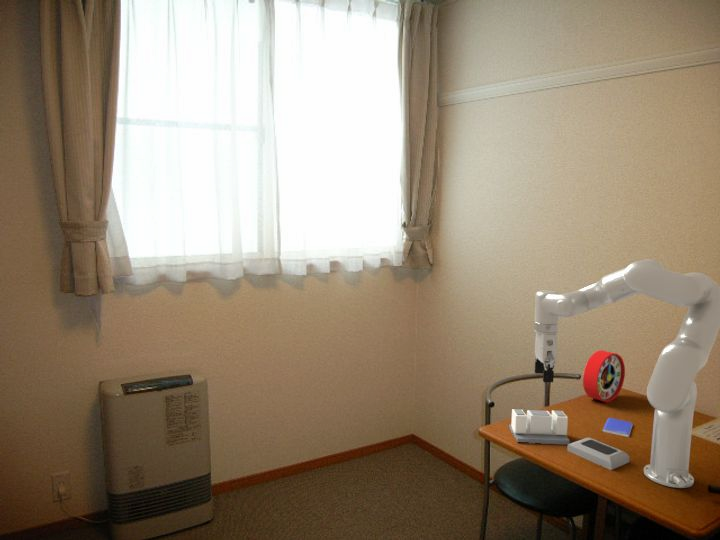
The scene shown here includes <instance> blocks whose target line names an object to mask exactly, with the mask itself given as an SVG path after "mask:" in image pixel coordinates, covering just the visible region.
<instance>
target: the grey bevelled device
mask: <svg viewBox="0 0 720 540" xmlns="http://www.w3.org/2000/svg"><path fill="white" fill-rule="evenodd" d="M566 448H567V450H566V451H567V452H569V453H572V454H573V455H576V456H578V457H581V458H583V459H584V460H588V461H589V462H592V463H594V464H596V465H598V466H600V465H601V466H600V467H603V468H605V469H608V470H610V471H613V470H615V469H617V468H620V467H621V466H622V467H623V466H624V465H626V464H629V463H630V455H629V454H628V453H627V452H625V451H624V450H621V449H619V448H616V447H613V446H611V445H609V444H606V443H604V442H603V441H602V442H601V441H599V440H598V439H597V440H596V439H594V438H591V437H584V438H583V439H580V440H579V439H578V440H576V441H574V442H570V444H568V445H567V447H566Z"/></svg>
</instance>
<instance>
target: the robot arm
mask: <svg viewBox="0 0 720 540" xmlns="http://www.w3.org/2000/svg"><path fill="white" fill-rule="evenodd" d="M638 294H643V295H645V296H649V297H651V298H653V299H656V300H659V301H662V302H666V303H668V304H671V305H673V306H677V307H688V309H687V311H686V315H685V316H684V318H683V321H682V323H681V326H680V328H679V331H678V333H677V335H676V338H675V339H674V340H673V341H672V342H670V343H668V344H667V345H665V347H664V348H663V349H662V350H661V352H660V353H659V356H658V358H657V361H656V364H655V366H654V369H653V372H652V373H651V376H650V378H649V381H648V384H647V387H646V397H647V400H648V403H649V404H650V405H651V406H652V407H653V408H654V413H653V414H654V415H653V422H652V423H653V425H652V437H651V448H650V449H651V451H650V462H649V463H650V464H645V466H644V467H643V474H644V476H646V477H647V478H648V479H649V480H651V481H652V482H655V483H657V484H659V485H662V486H666V487H670V488H675V489H676V488H677V489H686V488H690V487H692V486H693V485H694V484H695V483H694V482H695V479H694V476H693V475H692V474H691V473H689V467H690V466H689V465H690V455H691V454H690V452H691V443H692V442H691V441H692V431H693V423H694V422H693V421H694V413H695V408H696V407H695V406H696V402H697V396H698V388H697V383H696V381H695V378H696V377H697V374H698V373H699V371H701V370H702V369H703V368H704V367H705V365H706V364H707V362H708V359H709V356H710V354H711V351H712V349H713V347H714V343H715V342H716V339H717V336H718V333H719V331H720V286H719V284H718V283H717V281H715V280H714V279H713V278H711V277H710V276H709V275H706V274H704V273H702V272H696V271H695V272H694V271H693V272H692V271H691V272H687V273H678V272H676V271H672V270H669V269H666V268H665V266H664V265H663V264H662V263H661V262H660V261H658V260H656V259H652V258H647V259H640V260H635V261H634V262H631V263H630V264H628V265H627V266H626V267H623V268H622V269H619V270H616V271H613V272H610V273H608V274H606V275H603V276H602V277H601V278H600V280H598V281H597V282H595V283H593V284H590V285H588V286H585V287H583V288H580V289H578V290H577V289H576V290H575V291H570V292H566V293H559V292H557V291H554V290H545V289H543V290H538V291H537V292H535V296H534V298H535V299H534V300H535V301H534V323H533V325H534V326H533V331H534V333H535V341H534V356H535V357H534V361H535V362H534V373H535V374H542V381H543V383H554V376H555V374H554V373H555V364H557V362H558V339H557V334H558V332H559V317H562V318H571V317H574V316H577V315H580V314H584V313H587V312H589V311H592V310H595V309H598V308H600V307H604V306H605V305H608V304H612V303H613V304H614V303H617V302H620V301H622V300H626V299H628V298H630V297H634V296H635V295H636V296H637V295H638Z"/></svg>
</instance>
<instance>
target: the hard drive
mask: <svg viewBox="0 0 720 540" xmlns="http://www.w3.org/2000/svg"><path fill="white" fill-rule="evenodd" d="M633 424H634V423H633V422H631V421H627V420H622V419H618V418H612V417H608V418H607V419H606V422H605V425H604V426H603V428H602V432H604V433H608V434H611V435H612V434H613V435H616V436H623V437H627V438H629V437H630V434H631V431H632V428H633Z"/></svg>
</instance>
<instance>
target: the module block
mask: <svg viewBox="0 0 720 540" xmlns="http://www.w3.org/2000/svg"><path fill="white" fill-rule="evenodd" d="M551 415H552V413H550V411H548V410H536V409H533V410H532V409H530V410H529V409H527V411H526V416H527V421H526V427H527V429H528V430H529V432H530V433H547V434H551V429H552V416H551Z"/></svg>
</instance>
